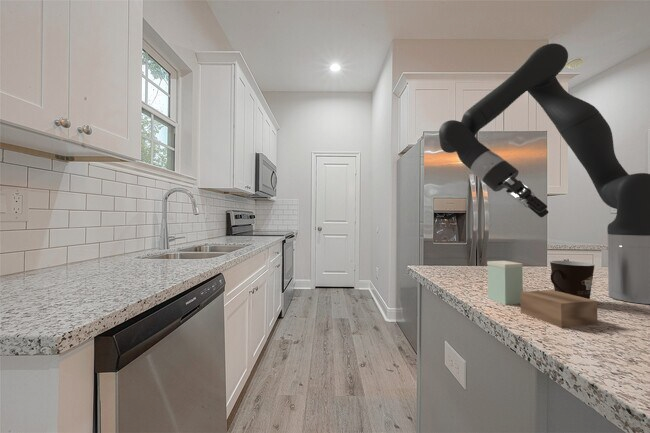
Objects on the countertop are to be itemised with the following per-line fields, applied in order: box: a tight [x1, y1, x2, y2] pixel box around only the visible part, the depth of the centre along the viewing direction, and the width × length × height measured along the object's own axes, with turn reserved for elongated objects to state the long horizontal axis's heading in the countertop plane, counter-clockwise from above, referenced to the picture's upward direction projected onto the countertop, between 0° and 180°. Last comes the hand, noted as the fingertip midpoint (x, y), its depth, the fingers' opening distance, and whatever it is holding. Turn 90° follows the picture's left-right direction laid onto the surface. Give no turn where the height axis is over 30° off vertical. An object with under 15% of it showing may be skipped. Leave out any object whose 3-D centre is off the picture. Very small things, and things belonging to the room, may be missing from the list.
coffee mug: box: [549, 260, 595, 299], centre depth 72 cm, size 12×9×10 cm
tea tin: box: [486, 260, 524, 306], centre depth 72 cm, size 6×6×10 cm
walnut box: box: [520, 289, 598, 329], centre depth 59 cm, size 9×9×5 cm
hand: (544, 212), depth 67 cm, fingers open, 8 cm apart
